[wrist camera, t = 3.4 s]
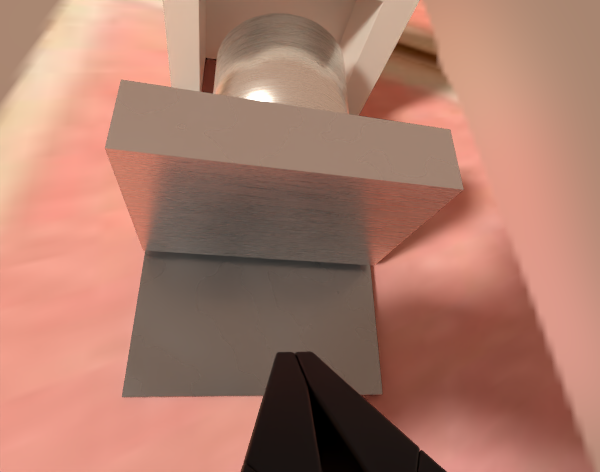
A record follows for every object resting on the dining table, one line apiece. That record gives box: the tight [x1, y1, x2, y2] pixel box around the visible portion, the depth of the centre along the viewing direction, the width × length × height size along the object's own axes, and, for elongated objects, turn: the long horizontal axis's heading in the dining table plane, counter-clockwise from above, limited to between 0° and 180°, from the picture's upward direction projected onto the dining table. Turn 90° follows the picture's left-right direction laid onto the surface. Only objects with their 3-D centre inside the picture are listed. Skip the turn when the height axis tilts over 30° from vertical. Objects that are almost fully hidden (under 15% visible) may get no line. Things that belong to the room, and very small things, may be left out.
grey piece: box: [105, 13, 464, 266], centre depth 17 cm, size 8×11×8 cm
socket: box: [163, 0, 419, 116], centre depth 20 cm, size 5×11×10 cm, turn 91°
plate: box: [122, 251, 383, 397], centre depth 20 cm, size 16×11×1 cm
